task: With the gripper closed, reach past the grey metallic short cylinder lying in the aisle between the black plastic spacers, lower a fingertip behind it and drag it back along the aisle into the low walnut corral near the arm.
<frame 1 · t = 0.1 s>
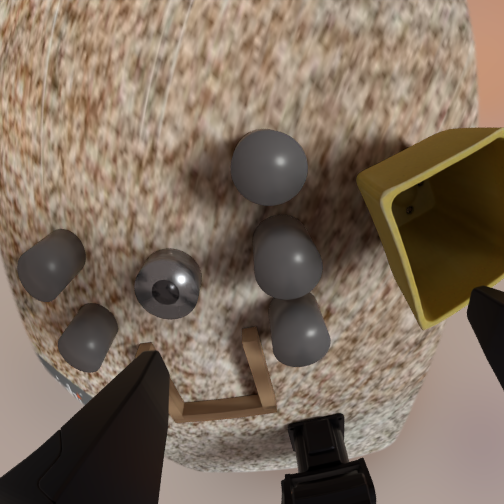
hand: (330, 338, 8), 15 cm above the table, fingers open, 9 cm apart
grey metallic short cylinder: (172, 275, 23), on the table
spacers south: (280, 241, 22), on the table
corral: (210, 373, 27), on the table
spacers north: (81, 288, 23), on the table
flower pot: (398, 191, 21), on the table
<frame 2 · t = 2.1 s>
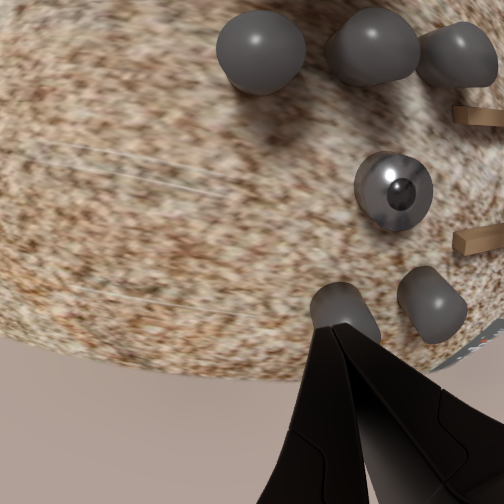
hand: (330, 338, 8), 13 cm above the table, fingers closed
grey metallic short cylinder: (385, 185, 19), on the table
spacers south: (356, 56, 15), on the table
corral: (496, 176, 18), on the table
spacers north: (379, 296, 22), on the table
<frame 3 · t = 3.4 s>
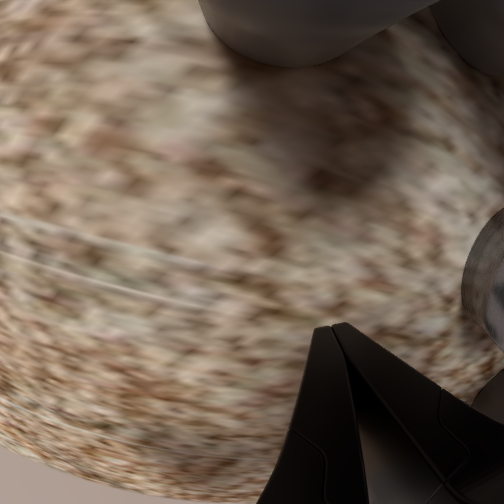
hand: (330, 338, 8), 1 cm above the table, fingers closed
grey metallic short cylinder: (503, 263, 8), on the table
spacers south: (478, 15, 5), on the table
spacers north: (451, 412, 12), on the table
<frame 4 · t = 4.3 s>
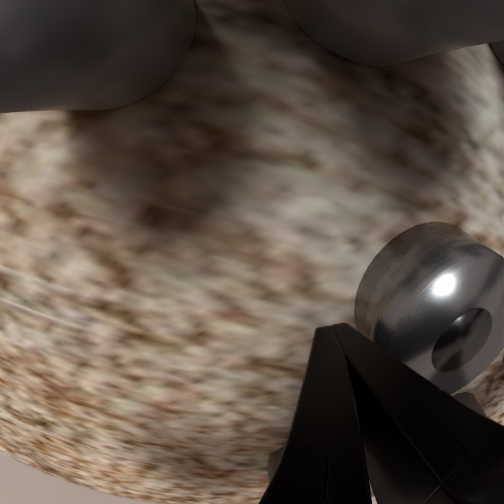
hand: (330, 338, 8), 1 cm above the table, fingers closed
grey metallic short cylinder: (421, 292, 8), on the table, touching gripper
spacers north: (381, 441, 12), on the table
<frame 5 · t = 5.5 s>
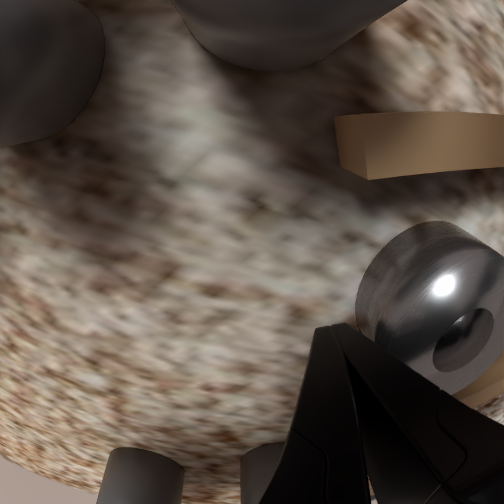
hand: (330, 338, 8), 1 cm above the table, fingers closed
grey metallic short cylinder: (423, 292, 8), on the table, touching gripper
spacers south: (41, 68, 6), on the table
corral: (472, 278, 8), on the table
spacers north: (210, 467, 12), on the table
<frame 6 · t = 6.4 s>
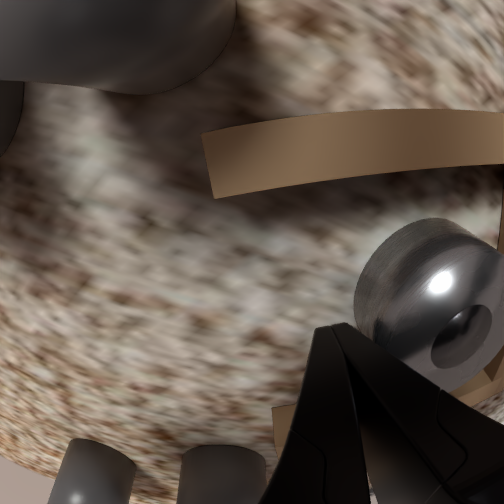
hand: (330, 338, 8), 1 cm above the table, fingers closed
grey metallic short cylinder: (421, 289, 8), on the table, touching gripper
corral: (402, 293, 9), on the table
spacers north: (157, 463, 12), on the table
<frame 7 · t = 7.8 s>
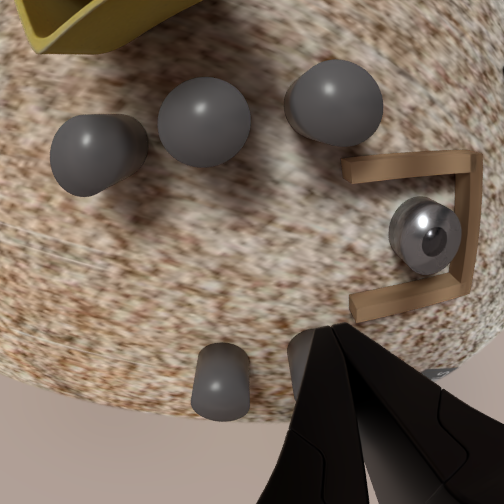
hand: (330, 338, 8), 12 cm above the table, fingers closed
grey metallic short cylinder: (416, 228, 19), on the table
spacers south: (213, 122, 16), on the table
corral: (409, 230, 19), on the table
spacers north: (267, 355, 23), on the table
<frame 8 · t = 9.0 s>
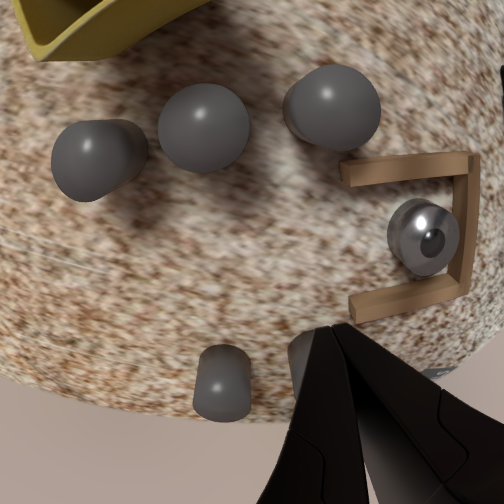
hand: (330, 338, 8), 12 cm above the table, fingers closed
grey metallic short cylinder: (414, 229, 19), on the table
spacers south: (213, 126, 17), on the table
corral: (407, 231, 19), on the table
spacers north: (268, 357, 23), on the table
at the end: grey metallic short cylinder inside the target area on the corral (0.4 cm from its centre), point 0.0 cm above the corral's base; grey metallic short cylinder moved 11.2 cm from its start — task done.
